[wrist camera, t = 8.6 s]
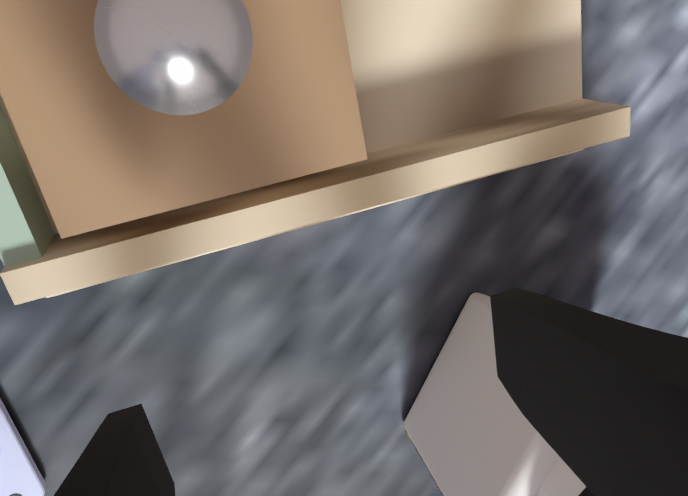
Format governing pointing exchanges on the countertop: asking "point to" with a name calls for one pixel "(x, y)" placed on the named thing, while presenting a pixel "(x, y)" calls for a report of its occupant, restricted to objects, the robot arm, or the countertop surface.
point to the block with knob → (174, 100)
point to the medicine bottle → (481, 422)
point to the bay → (378, 130)
